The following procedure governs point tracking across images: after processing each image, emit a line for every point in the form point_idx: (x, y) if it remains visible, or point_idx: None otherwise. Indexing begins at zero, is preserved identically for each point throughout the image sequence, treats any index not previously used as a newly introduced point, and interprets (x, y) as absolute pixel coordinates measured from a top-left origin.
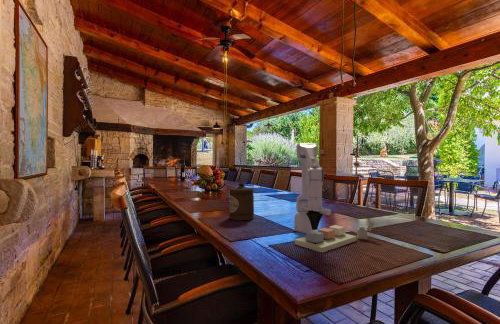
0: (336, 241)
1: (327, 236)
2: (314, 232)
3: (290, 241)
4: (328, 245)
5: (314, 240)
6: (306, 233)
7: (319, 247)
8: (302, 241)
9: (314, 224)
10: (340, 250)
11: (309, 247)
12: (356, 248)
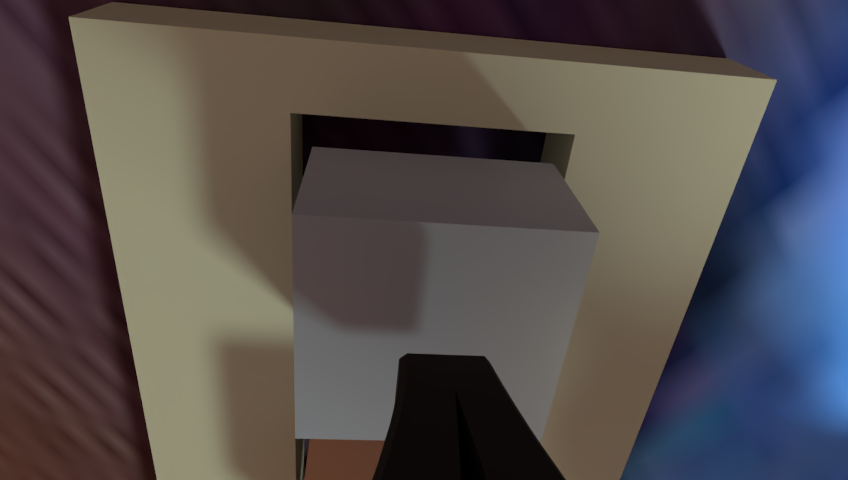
0: (191, 446)
1: (310, 461)
2: None
3: (842, 130)
4: (110, 222)
5: (342, 163)
6: (579, 222)
7: (140, 23)
8: (587, 80)
9: (382, 473)
10: (54, 304)
11: (396, 33)
12: (15, 476)
